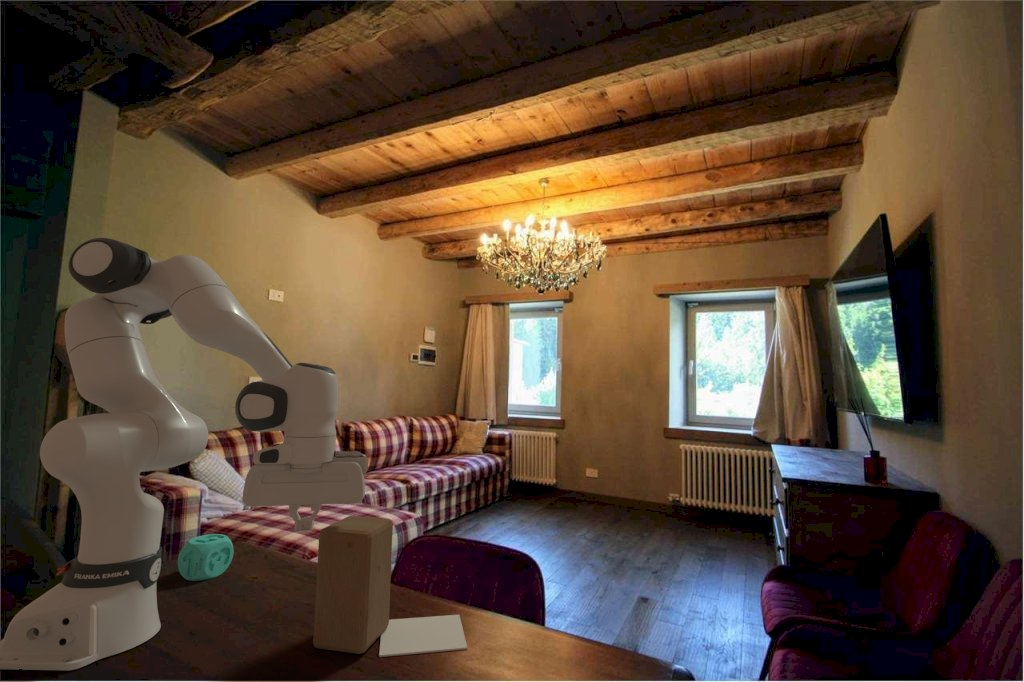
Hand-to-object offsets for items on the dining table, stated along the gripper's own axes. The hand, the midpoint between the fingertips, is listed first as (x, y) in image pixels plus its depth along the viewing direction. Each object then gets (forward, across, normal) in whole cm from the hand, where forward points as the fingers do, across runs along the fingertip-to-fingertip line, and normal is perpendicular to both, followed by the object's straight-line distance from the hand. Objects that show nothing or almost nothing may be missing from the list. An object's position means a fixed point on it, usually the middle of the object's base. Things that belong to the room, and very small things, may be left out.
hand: (303, 529), depth 81 cm
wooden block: (+19, -9, 0) cm, 22 cm away
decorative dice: (+19, +28, -35) cm, 48 cm away
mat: (+20, -22, 0) cm, 29 cm away
